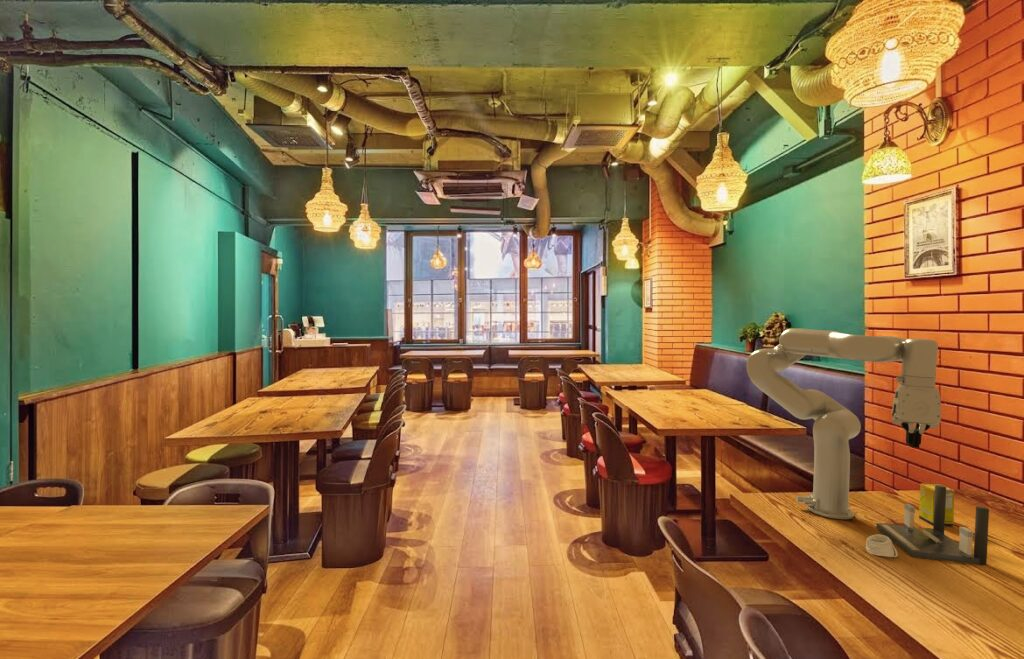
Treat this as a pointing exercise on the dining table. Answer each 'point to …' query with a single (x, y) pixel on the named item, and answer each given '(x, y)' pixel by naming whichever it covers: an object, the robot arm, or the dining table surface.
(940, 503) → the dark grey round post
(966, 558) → the panel
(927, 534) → the cream block orange end
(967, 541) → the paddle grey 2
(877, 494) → the dining table surface
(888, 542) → the grey hollow teardrop piece
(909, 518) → the beige flat bar
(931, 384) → the robot arm
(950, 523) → the supplement box
